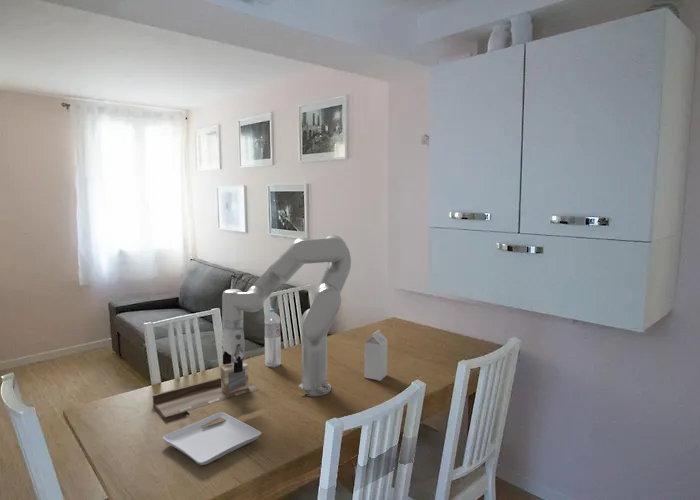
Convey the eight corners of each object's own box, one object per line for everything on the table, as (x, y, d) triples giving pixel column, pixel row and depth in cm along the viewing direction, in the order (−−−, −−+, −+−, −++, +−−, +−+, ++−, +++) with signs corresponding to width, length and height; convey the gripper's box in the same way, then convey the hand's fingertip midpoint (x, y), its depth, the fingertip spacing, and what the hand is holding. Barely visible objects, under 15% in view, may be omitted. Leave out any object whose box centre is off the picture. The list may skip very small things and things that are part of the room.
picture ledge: (259, 393, 168) (259, 383, 167) (165, 421, 147) (165, 409, 146) (243, 381, 179) (242, 371, 178) (153, 405, 158) (152, 394, 157)
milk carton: (364, 377, 183) (364, 332, 181) (371, 371, 189) (372, 328, 187) (380, 381, 180) (380, 335, 177) (387, 375, 186) (387, 330, 184)
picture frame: (248, 387, 169) (248, 364, 168) (226, 394, 164) (225, 370, 162) (243, 384, 172) (243, 361, 171) (221, 390, 167) (220, 367, 166)
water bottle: (272, 369, 191) (271, 312, 188) (261, 365, 195) (260, 309, 192) (284, 364, 197) (283, 308, 194) (273, 360, 201) (272, 306, 198)
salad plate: (221, 419, 149) (221, 409, 149) (263, 442, 136) (263, 431, 135) (160, 447, 133) (160, 436, 132) (201, 475, 119) (200, 463, 119)
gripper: (252, 327, 161) (252, 373, 163) (232, 316, 174) (232, 358, 176) (233, 330, 156) (232, 377, 158) (213, 319, 169) (213, 362, 171)
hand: (232, 367), depth 167 cm, fingers open, 9 cm apart
